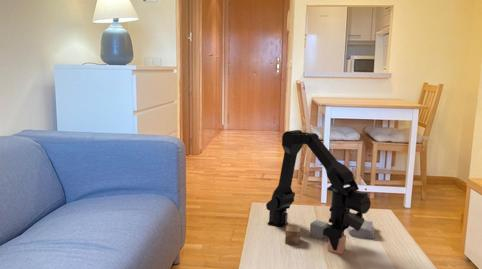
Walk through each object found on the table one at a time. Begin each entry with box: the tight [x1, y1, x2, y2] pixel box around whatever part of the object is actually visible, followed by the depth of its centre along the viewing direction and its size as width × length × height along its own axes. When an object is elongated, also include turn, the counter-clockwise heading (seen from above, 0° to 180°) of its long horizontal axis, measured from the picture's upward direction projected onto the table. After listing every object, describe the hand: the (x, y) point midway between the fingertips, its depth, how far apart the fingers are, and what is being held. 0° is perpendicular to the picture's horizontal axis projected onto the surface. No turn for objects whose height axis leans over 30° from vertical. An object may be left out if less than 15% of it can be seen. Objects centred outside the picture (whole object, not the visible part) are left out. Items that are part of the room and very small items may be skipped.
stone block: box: [346, 219, 375, 240], centre depth 161 cm, size 12×5×10 cm
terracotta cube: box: [327, 234, 347, 255], centre depth 144 cm, size 5×5×5 cm
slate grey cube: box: [309, 219, 329, 240], centre depth 156 cm, size 5×5×5 cm
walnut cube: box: [284, 225, 301, 246], centre depth 150 cm, size 5×5×5 cm
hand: (336, 247), depth 144 cm, fingers closed on terracotta cube, 5 cm apart
